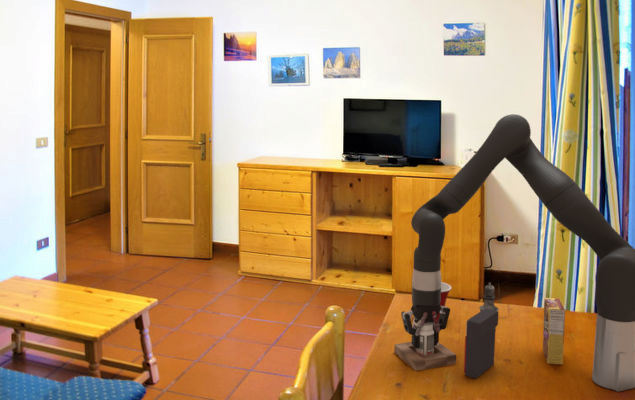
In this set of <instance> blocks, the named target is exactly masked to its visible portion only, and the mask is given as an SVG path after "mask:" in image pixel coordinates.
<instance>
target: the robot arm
mask: <svg viewBox="0 0 635 400" xmlns="http://www.w3.org/2000/svg"><path fill="white" fill-rule="evenodd" d="M531 135H532V134H531V125H530V123H529V121H528V120H527V119H526V118H525V117H523V116H522V115H520V114H513V113H512V114H506V115H504V116H503V117H501V118H500V119H499V120H498V121H497V122H496V123H495V126H494V127H493V129H492V130H491V131H490V133H489V135H488V136H487V138H486V139H485V141H484V142H483V143H482V145H481V146H480V147H479V148H478V150H477V151H476V152H475V154H473V156H472V157H470V159H469V161H468V162H466V164H465V165H464V166H463V167H461V169H460V170H459V171H458V172H457V173H456V174H455V175H454V176H453V177H452V178H450V180H449V181H448V182H447V183H445V185H444V187H442V189H441V190H440V191H439V192H438V193H437V194H436V195H435V196H433V197H432V198H430V199H429V200H428V201H426V202H425V203H424V204H422V205H420V207H419V208H418V209H417V210H416V211H415V213H413V216H412V217H411V223H410V224H411V228H412V230H413V231H414V232H415V233H416V234H417V235H418V241H417V242H418V244H417V247H415V249H414V251H413V271H412V275H411V276H412V280H411V286H412V287H411V301H412V302H411V305H412V306H411V307H410V310H407V311H403V310H402V311H401V318H402V323H403V327H404V328H403V329H404V330H405V332H406V333H407V334H409V335H411V342H412V345H413V346H414V347H415V348H416V349H418V348H419V345H420V336H419V333H420V330H421V328H423V325H424V323H427V322H432V323H433V330H434V346H436V345H437V343H438V342H439V343H440V340H439V339H440V332H441V331H442V330H443V331H444V330H446V328H447V324H448V322H449V316H450V313H451V308H450V307H448V306H446V305H445V306H441V305H440V302H441V282H442V272H441V265H442V264H441V263H442V262H441V261H442V250H443V246H444V242H445V238H446V225H445V224H446V223H445V221H444V220H445V218H447V217H448V216H449V215H453V214H456V213H459V211H461V209H462V208H464V207H465V205H466V204H467V203H468V202H469V201H470V200H471V199H472V198H473V197H474V196H475V194H476V193H477V192H478V191H479V190H480V188H481V187H482V186H483V184H484V183H485V182H486V180H487V179H488V177H489V176H490V175H491V174H492V172H493V171H494V170H495V168H496V167H498V165H499V164H500V163H501V162H502V161H504V160H507V161H508V162H509V163H510V164H511V165H512V167H513V168H515V169H516V170H517V172H519V173H520V174H521V176H522V177H523V178H524V180H525V181H526V182H527V184H528V185H529V187H530V188H531V190H532V191H533V193H535V195H536V196H537V198H538V199H539V200H540V201H541V203H542V204H543V205H544V207H545V208H546V209H547V210H548V212H549V213H550V214H551V216H553V217H554V218H555V220H556V221H557V222H558V223H559V224H560V225H562V226H563V227H565V229H567V230H569V231H570V232H571V233H573V234H574V235H576V236H577V237H578V238H580V239H581V240H583V241H584V242H585V243H586V244H587V246H589V247H590V248H591V250H592V251H593V252H594V253H595V255H596V257H598V259H599V260H600V261H599V263H598V266H597V269H596V270H597V271H596V279H595V280H596V283H595V303H596V308H597V309H596V323H595V333H594V334H595V335H594V336H595V337H594V347H593V348H594V349H593V360H592V361H593V362H592V363H593V364H592V377H591V378H592V381H593V382H594V383H595V384H596V385H598V386H600V387H603V388H606V389H610V390H613V391H615V392H622V391H628V390H630V389H631V390H632V389H635V248H634V247H633V246H632V245H631V244H630V243H629V242H628V241H627V240H626V239H625V238H624V237H623V236H621V234H619V233H618V231H616V230H615V229H614V228H613V226H612V225H611V224H610V223H609V221H608V220H607V219H606V217H604V215H603V214H602V213H601V211H600V210H599V209H598V208H597V207H596V206H595V204H594V203H593V202H592V201H591V200H590V198H589V197H588V196H587V194H586V193H585V192H584V190H582V188H581V187H580V186H579V185H578V184H577V182H576V181H574V179H572V177H570V175H568V174H567V173H565V172H564V171H563V170H562V169H560V168H559V167H558V166H556V165H554V163H552V162H550V160H549V159H547V158H546V157H545V156H544V155H543V154H542V152H541V151H540V150H539V148H538V147H537V146H536V144H535V143H534V142H533V140H532V138H531ZM439 312H440V316H439V320H438V319H437V315H438V314H439ZM412 316H413V317H412ZM412 318H413V319H412ZM418 322H419V323H418Z"/></svg>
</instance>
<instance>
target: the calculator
mask: <svg viewBox="0 0 635 400" xmlns="http://www.w3.org/2000/svg"><path fill="white" fill-rule="evenodd" d="M465 323H466V324H465V325H466V326H465V337H464V359H463V360H464V362H463V364H464V365H463V373H465V374H464V375H465V377H469V378H471V379H475V380H476V379H477V378H479V377H480V376H482V375H483V374H484V373H485V372H487V371H488V370H489V369H491V367H493V366H494V364H495V351H496V350H495V349H496V348H495V347H496V346H495V345H496V329H497V326H498V325H499V310H498V311H495V310H491V309H484V310H482V311H481V312H480V311H479V312H478V313H476V314H474V315H473V316H471V317H470V318H468V319H467V320H466V322H465Z"/></svg>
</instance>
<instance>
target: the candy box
mask: <svg viewBox="0 0 635 400" xmlns="http://www.w3.org/2000/svg"><path fill="white" fill-rule="evenodd" d="M543 301H544V303H543V332H542V333H543V334H542V335H543V336H542V352H543V354H544V357H545V361H546V364H549V365H563V364H564V363H563V362H564V361H563V360H564V348H565V347H564V345H565V343H564V342H565V341H564V340H565V339H564V338H565V322H566V319H565V318H566V309H565V308H564V306H563V303H562V302H561V300H560V298H555V297H553V298H551V297H544V300H543Z"/></svg>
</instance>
